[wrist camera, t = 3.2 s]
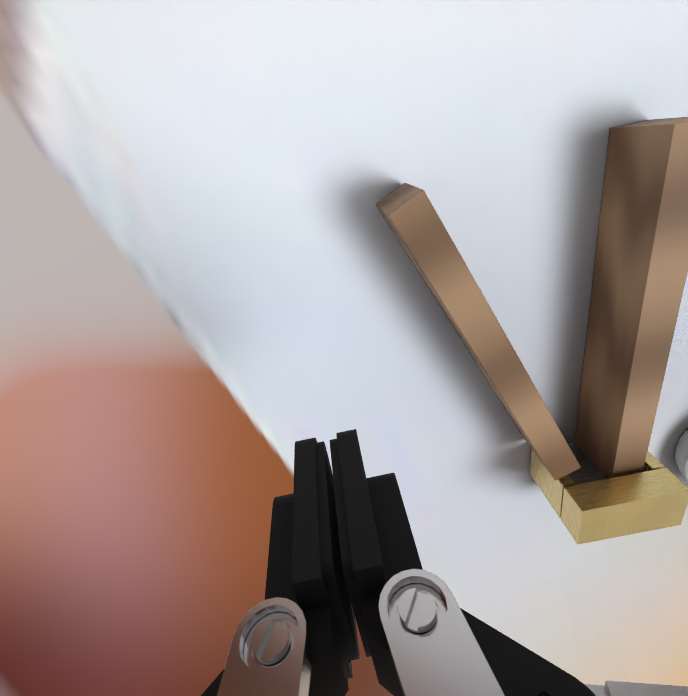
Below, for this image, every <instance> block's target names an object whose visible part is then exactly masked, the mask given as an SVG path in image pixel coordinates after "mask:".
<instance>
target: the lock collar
mask: <svg viewBox="0 0 688 696" xmlns="http://www.w3.org/2000/svg"><path fill="white" fill-rule="evenodd" d="M530 475H531V476H532V478H533V479H534V481H535V482H536V484H537V485H538V486H539V488H540V489H541V491H542V492H543V494H544V495H545V497H546V498H547V500H548V501H549V503H550V504H551V506H552V507H553V509H554V510H555V512H556V513H557V515H558V516H559V518H561V521H562V522H563V523H564V525H565V526H566V528H567V529H568V531H569V532H570V534H571V535H572V537H573V538H574V540H575V541H576V543H577V544H582V543H588V542H593V541H598V540H603V539H608V538H614V537H619V536H624V535H629V534H634V533H640V532H645V531H650V530H655V529H661V528H666V527H671V526H676V525H681V522H682V519H683V516H684V512H685V509H686V506H687V503H688V487H687V486H686V485H685V484H684V483H683V482H681V481H680V480H679V479H678V478H677V477H676V476H675V475H674V474H673V473H671V472H670V471H669V470H668V469H667V468H664V465H663V464H661V463H660V462H659V461H658V460H657V459H656V458H655V457H654V456H653V455H651V454H650V453H649V452H648V451H647V455H646V459H645V464H644V468H643V472H640V473H635V474H630V475H625V476H620V477H615V478H609V479H604V480H599V481H594V482H589V483H583V484H578V485H575V483H574V482H573V481H572V479H571V478H570V477H569V476H568V474H567V475H565V476H563V477H562V478H560V479H558V480H556V481H555V480H554V478H553V477H552V476H551V474H550V473H549V472H548V470H547V469H546V468H545V466H544V465H543V464H542V462H541V461H540V459H539V458H538V457H537V455H536V454H535V453H534V451H533V450H532V449H531V468H530Z"/></svg>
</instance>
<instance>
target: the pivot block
mask: <svg viewBox="0 0 688 696" xmlns="http://www.w3.org/2000/svg"><path fill="white" fill-rule="evenodd" d="M567 444H568V446H569V447H570V449H571V451H572V453H573V454H574V456H575V458H576V460H577V461H578V463H579V465H580V467H581V468H579V469H577V470H575V471H573V472H571V473H569V474H568V476H569V477H570V478H571V479H572V481H573V482H574V483H575V485H578V484H583V483H589V482H594V481H599V480H604V479H608V478H607V477H606V476H605V475H604V474H603V473H602V472H601V471H600V470H599V468H598V467H597V466H596V465H595V464H594V463H593V462H592V461H591V460H590V458H589V457H588V456H587V455H586V454H585V453H584V452H583V451H582V450H581V448H580V447H579V446H578V445H577V444H576V443H575V442H572V443H567Z"/></svg>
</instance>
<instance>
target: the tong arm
mask: <svg viewBox="0 0 688 696" xmlns="http://www.w3.org/2000/svg"><path fill="white" fill-rule="evenodd" d="M376 205H377V207H378V208H379V210H380V211H381V213H382V215H383V216H384V218H385V219H386V221H387V222H388V224H389V226H390V227H391V229H392V230H393V232H394V233H395V235H396V237H397V238H398V240H399V241H400V243H401V245H402V246H403V248H404V249H405V251H406V252H407V254H408V256H409V257H410V259H411V260H412V262H413V263H414V265H415V267H416V268H417V270H418V271H419V273H420V274H421V276H422V278H423V279H424V281H425V282H426V284H427V286H428V287H429V289H430V290H431V292H432V293H433V295H434V297H435V298H436V300H437V301H438V303H439V304H440V306H441V308H442V309H443V311H444V312H445V314H446V316H447V317H448V319H449V320H450V322H451V323H452V325H453V327H454V328H455V330H456V331H457V333H458V334H459V336H460V338H461V339H462V341H463V342H464V344H465V346H466V347H467V349H468V350H469V352H470V353H471V355H472V357H473V358H474V360H475V361H476V363H477V364H478V366H479V368H480V369H481V371H482V372H483V374H484V376H485V377H486V379H487V380H488V382H489V383H490V385H491V387H492V388H493V390H494V391H495V393H496V394H497V396H498V398H499V399H500V401H501V402H502V404H503V405H504V407H505V409H506V410H507V412H508V413H509V415H510V417H511V418H512V420H513V421H514V423H515V424H516V426H517V428H518V429H519V431H520V432H521V434H522V435H523V437H524V439H525V440H526V442H527V443H528V445H529V446H530V447H531V449H532V450H533V451H534V453H535V454H536V455H537V457H538V458H539V459H540V461H541V462H542V464H543V465H544V466H545V468H546V469H547V470H548V472H549V473H550V474H551V476H552V477H553V478H554V480H555V481H556V480H558V479H560V478H562V477H563V476H565V475H567V474H569V473H571V472H573V471H575V470H577V469H579V468H581V467H580V465H579V463H578V461H577V460H576V458H575V456H574V454H573V453H572V451H571V449H570V447H569V446H568V444H567V442H566V440H565V439H564V437H563V435H562V433H561V431H560V430H559V428H558V426H557V424H556V423H555V421H554V419H553V417H552V416H551V414H550V412H549V410H548V409H547V407H546V405H545V403H544V401H543V400H542V398H541V396H540V394H539V393H538V391H537V389H536V387H535V386H534V384H533V382H532V380H531V379H530V377H529V375H528V373H527V371H526V370H525V368H524V366H523V364H522V363H521V361H520V359H519V357H518V356H517V354H516V352H515V350H514V349H513V347H512V345H511V343H510V342H509V340H508V338H507V336H506V334H505V333H504V331H503V329H502V327H501V326H500V324H499V322H498V320H497V319H496V317H495V315H494V313H493V312H492V310H491V308H490V306H489V304H488V303H487V301H486V299H485V297H484V296H483V294H482V292H481V290H480V289H479V287H478V285H477V283H476V282H475V280H474V278H473V276H472V275H471V273H470V271H469V269H468V267H467V266H466V264H465V262H464V260H463V259H462V257H461V255H460V253H459V252H458V250H457V248H456V246H455V245H454V243H453V241H452V239H451V237H450V236H449V234H448V232H447V230H446V229H445V227H444V225H443V223H442V222H441V220H440V218H439V216H438V215H437V213H436V211H435V209H434V208H433V206H432V204H431V202H430V200H429V199H428V197H427V195H426V193H425V192H424V190H422V189H419V188H417V187H414V186H412V185H409V184H407V183H404V184H402V185H401V186H400V187H398V188H397V189H395V190H394V191H393V192H391V193H390V194H389V195H387V196H386V197H385V198H383V199H382V200H381V201H379V202H378V203H377V204H376Z"/></svg>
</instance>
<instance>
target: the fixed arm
mask: <svg viewBox="0 0 688 696" xmlns="http://www.w3.org/2000/svg"><path fill="white" fill-rule="evenodd" d="M687 271H688V117H681V118H667V119H654V120H646V121H641V122H636V123H631V124H626V125H621V126H616V127H611V128H610V132H609V141H608V150H607V158H606V167H605V176H604V185H603V194H602V203H601V212H600V221H599V230H598V239H597V247H596V256H595V265H594V274H593V283H592V292H591V301H590V310H589V319H588V328H587V337H586V345H585V354H584V363H583V372H582V381H581V390H580V399H579V408H578V417H577V426H576V434H575V443H576V444H577V445H578V446H579V447H580V448H581V450H582V451H583V452H584V453H585V454H586V455H587V456H588V457H589V458H590V460H591V461H592V462H593V463H594V464H595V465H596V466H597V467H598V468H599V470H600V471H601V472H602V473H603V474H604V475H605V476H606V477H607V478H608V479H609V478H615V477H620V476H625V475H630V474H635V473H640V472H643V468H644V464H645V459H646V455H647V451H648V446H649V442H650V437H651V433H652V428H653V424H654V419H655V415H656V410H657V406H658V401H659V397H660V392H661V388H662V383H663V379H664V374H665V370H666V365H667V361H668V357H669V352H670V348H671V343H672V339H673V334H674V330H675V325H676V321H677V316H678V312H679V307H680V303H681V298H682V294H683V289H684V285H685V280H686V276H687Z"/></svg>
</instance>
